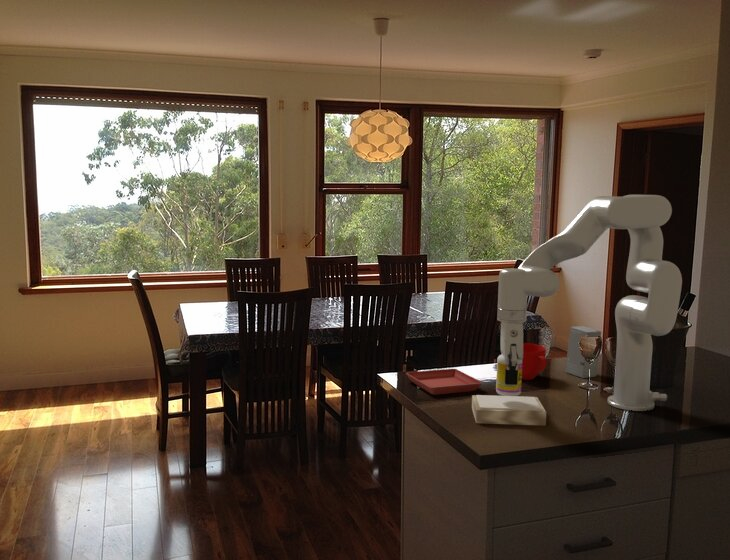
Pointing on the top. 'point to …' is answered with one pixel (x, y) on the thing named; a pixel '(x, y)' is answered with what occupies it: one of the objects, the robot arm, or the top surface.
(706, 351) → the top surface
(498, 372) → the supplement bottle
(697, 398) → the top surface
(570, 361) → the skincare box
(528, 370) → the ceramic cup
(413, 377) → the plant saucer
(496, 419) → the birch base
